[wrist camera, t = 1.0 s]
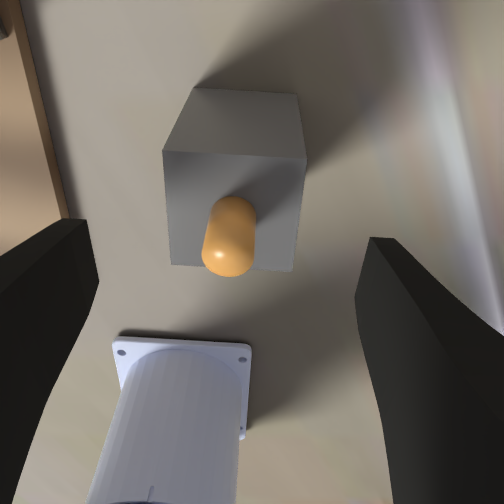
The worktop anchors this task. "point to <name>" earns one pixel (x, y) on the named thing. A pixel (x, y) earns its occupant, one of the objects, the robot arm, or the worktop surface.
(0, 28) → the clips
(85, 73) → the worktop surface
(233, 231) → the connector plug
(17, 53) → the board
